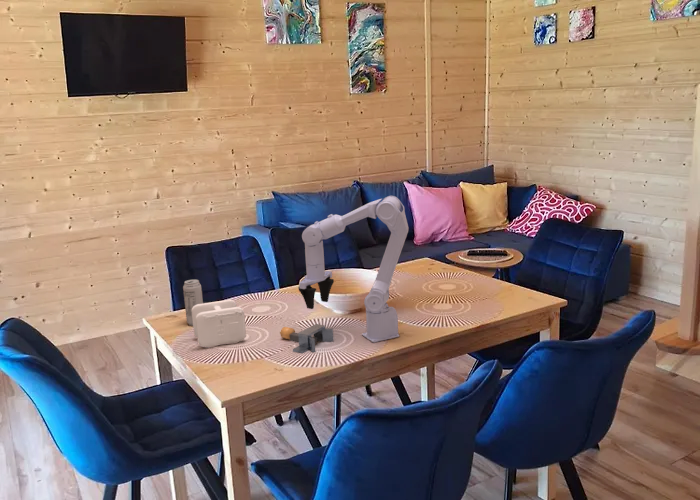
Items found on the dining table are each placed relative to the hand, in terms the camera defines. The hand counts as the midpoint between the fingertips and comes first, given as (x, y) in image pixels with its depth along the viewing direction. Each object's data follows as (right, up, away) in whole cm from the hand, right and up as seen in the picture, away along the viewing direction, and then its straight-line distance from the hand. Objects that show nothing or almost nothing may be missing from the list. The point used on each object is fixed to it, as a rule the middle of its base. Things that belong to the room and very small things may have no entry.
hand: (317, 304), depth 206 cm
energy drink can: (-43, -8, +18) cm, 47 cm away
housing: (0, -12, -6) cm, 13 cm away
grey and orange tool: (-6, -11, -2) cm, 13 cm away
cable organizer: (-31, -12, +1) cm, 33 cm away
